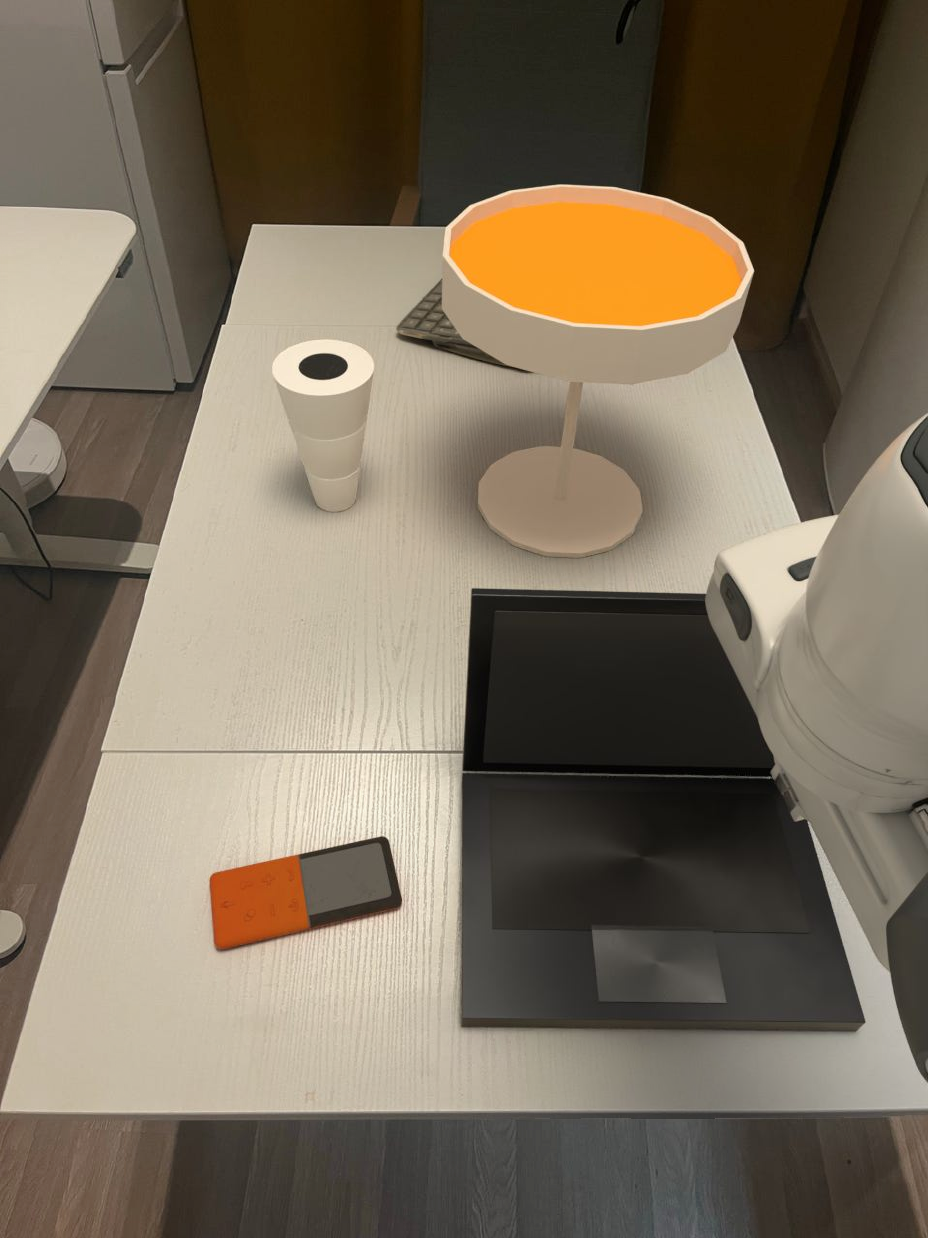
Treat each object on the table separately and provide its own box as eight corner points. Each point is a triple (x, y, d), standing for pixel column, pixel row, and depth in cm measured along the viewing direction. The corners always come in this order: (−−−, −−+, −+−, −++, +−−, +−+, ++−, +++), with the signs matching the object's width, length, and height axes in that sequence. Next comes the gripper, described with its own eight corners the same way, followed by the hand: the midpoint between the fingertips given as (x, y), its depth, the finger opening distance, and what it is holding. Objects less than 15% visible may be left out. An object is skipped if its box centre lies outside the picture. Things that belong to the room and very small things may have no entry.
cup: (398, 493, 108) (394, 362, 95) (339, 541, 102) (327, 407, 89) (332, 459, 112) (319, 328, 99) (271, 503, 106) (250, 370, 93)
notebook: (856, 1031, 68) (866, 1022, 66) (461, 1027, 67) (461, 1017, 65) (788, 790, 82) (795, 778, 80) (461, 784, 81) (462, 772, 79)
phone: (207, 871, 73) (387, 831, 76) (210, 878, 74) (387, 839, 77) (213, 947, 69) (403, 902, 72) (216, 953, 70) (403, 909, 73)
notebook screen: (876, 605, 66) (872, 597, 67) (471, 595, 65) (471, 587, 66) (795, 778, 80) (792, 770, 81) (462, 772, 79) (462, 764, 80)
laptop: (620, 283, 145) (632, 219, 137) (555, 383, 125) (564, 314, 117) (476, 250, 151) (479, 186, 143) (392, 339, 131) (390, 271, 123)
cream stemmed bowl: (523, 401, 122) (547, 161, 99) (722, 487, 111) (802, 239, 88) (386, 515, 105) (376, 257, 82) (605, 629, 94) (664, 369, 71)
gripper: (1103, 926, 32) (952, 969, 44) (828, 485, 41) (767, 621, 53) (939, 983, 31) (833, 1010, 44) (700, 525, 41) (668, 652, 53)
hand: (795, 793), depth 49 cm, fingers closed
